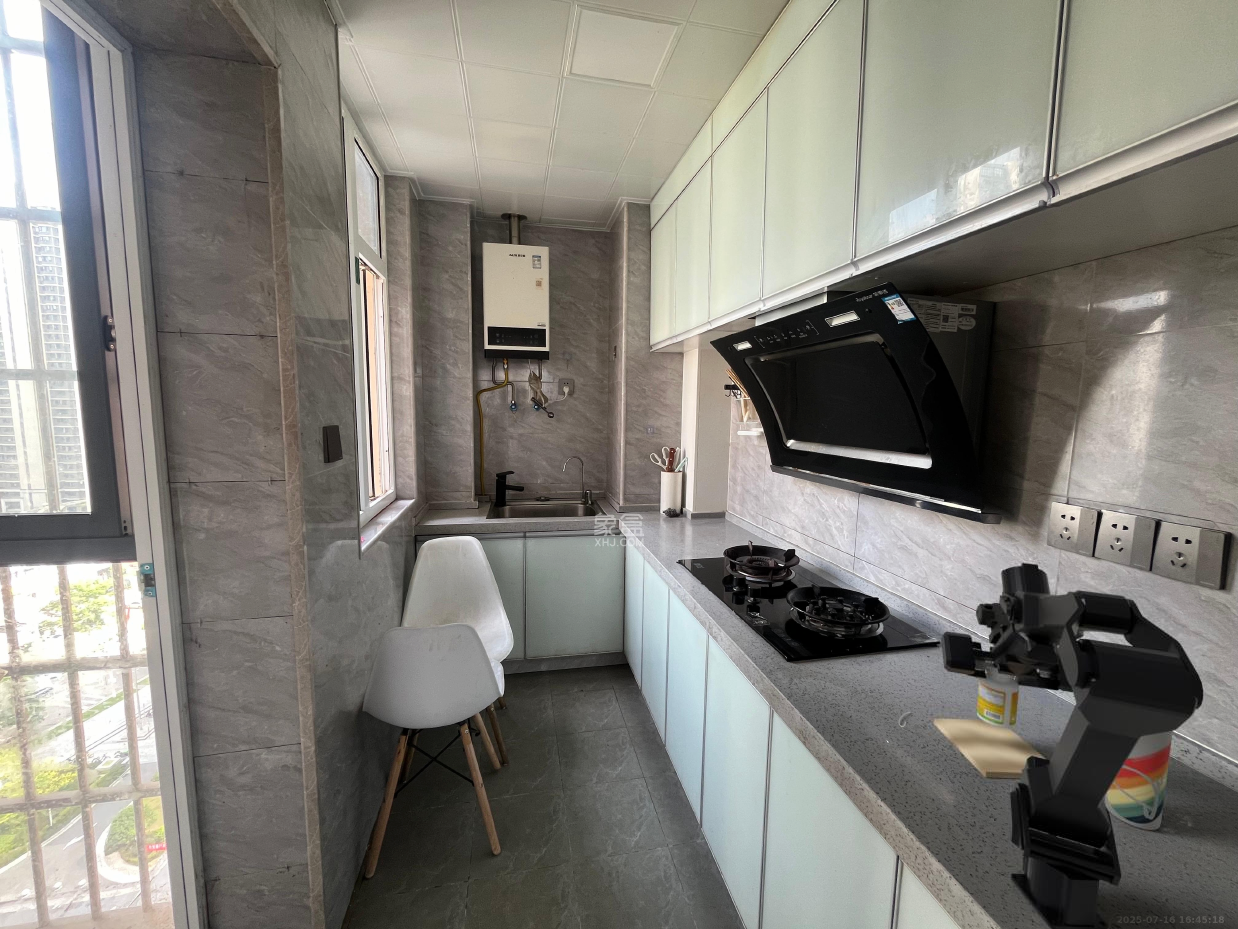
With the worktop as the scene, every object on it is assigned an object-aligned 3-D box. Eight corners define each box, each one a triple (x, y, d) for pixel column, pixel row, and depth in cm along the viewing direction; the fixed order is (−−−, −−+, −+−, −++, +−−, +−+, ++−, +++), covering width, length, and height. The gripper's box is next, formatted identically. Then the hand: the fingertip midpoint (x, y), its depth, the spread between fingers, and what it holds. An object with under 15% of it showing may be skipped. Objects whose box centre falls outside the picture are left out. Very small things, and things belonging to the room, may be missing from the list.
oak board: (1062, 779, 80) (1063, 773, 80) (985, 777, 80) (986, 771, 80) (999, 725, 94) (999, 720, 94) (933, 723, 94) (934, 718, 94)
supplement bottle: (1002, 711, 89) (1007, 659, 88) (1023, 730, 84) (1028, 674, 83) (969, 709, 89) (974, 656, 89) (988, 728, 84) (993, 672, 83)
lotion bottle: (1130, 830, 70) (1146, 694, 68) (1093, 799, 76) (1107, 673, 74) (1172, 832, 70) (1190, 696, 68) (1133, 801, 76) (1148, 674, 74)
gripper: (1089, 602, 77) (1052, 642, 88) (947, 586, 84) (929, 625, 95) (1112, 676, 71) (1068, 709, 82) (955, 652, 77) (935, 685, 89)
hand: (996, 678), depth 87 cm, fingers closed on supplement bottle, 5 cm apart
